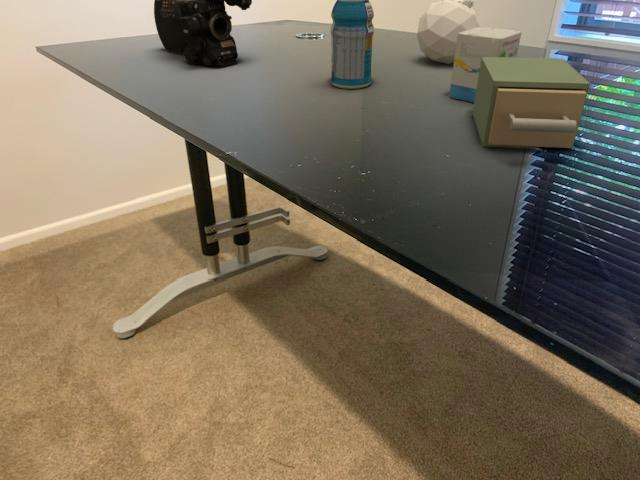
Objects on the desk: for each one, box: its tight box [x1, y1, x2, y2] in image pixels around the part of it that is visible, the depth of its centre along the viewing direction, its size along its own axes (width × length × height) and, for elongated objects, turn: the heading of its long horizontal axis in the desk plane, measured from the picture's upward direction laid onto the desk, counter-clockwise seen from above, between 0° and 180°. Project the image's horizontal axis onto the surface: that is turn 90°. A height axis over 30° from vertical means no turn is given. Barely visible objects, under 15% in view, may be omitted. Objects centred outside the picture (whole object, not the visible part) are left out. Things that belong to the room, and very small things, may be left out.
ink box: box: [448, 26, 522, 104], centre depth 92 cm, size 8×8×12 cm
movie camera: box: [153, 0, 253, 67], centre depth 122 cm, size 31×18×18 cm, turn 43°
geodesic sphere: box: [416, 0, 481, 65], centre depth 115 cm, size 15×14×14 cm
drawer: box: [488, 87, 588, 149], centre depth 74 cm, size 18×11×8 cm, turn 171°
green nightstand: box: [472, 57, 591, 150], centre depth 77 cm, size 15×13×10 cm
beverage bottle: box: [330, 0, 375, 90], centre depth 98 cm, size 8×8×20 cm
